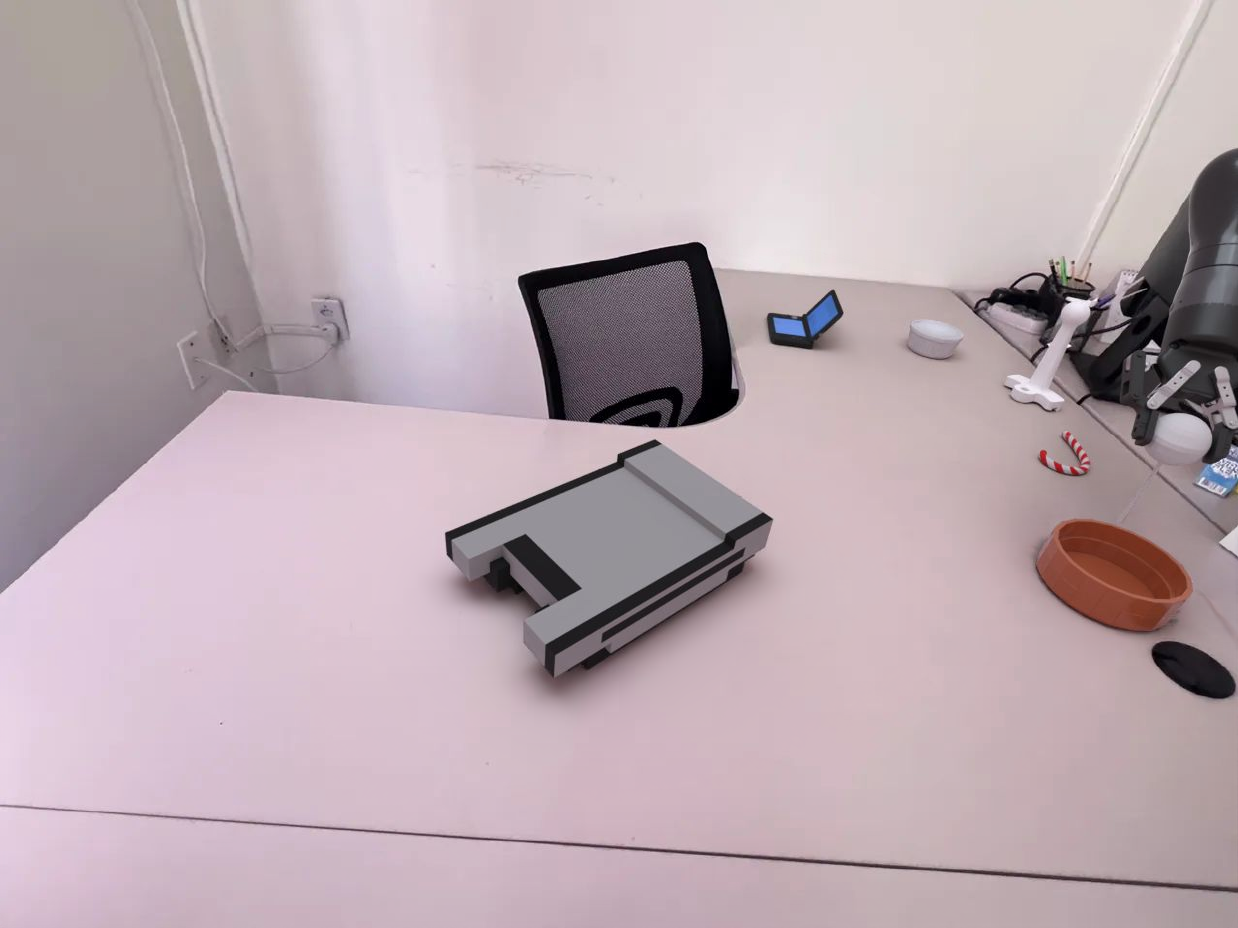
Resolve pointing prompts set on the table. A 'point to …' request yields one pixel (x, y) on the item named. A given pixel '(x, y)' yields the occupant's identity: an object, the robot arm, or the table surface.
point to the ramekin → (933, 338)
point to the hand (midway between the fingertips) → (1176, 452)
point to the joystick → (1049, 362)
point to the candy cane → (1062, 468)
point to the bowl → (1113, 574)
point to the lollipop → (1175, 445)
